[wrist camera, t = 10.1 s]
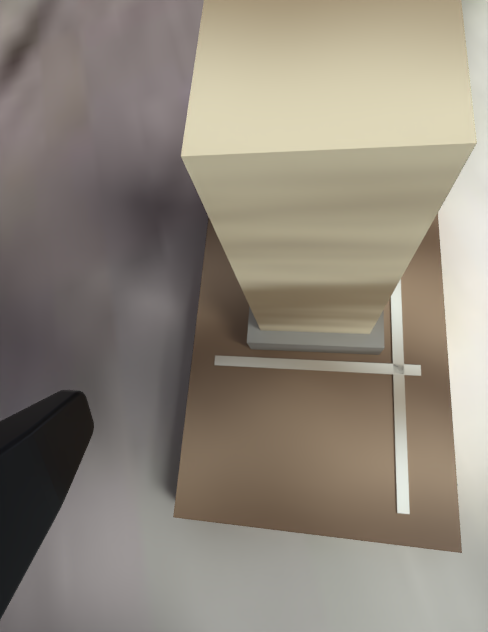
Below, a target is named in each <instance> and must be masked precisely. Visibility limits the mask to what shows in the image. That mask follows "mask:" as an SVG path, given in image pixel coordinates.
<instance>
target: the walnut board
mask: <svg viewBox="0 0 488 632" xmlns="http://www.w3.org/2000/svg"><path fill="white" fill-rule="evenodd" d="M249 307H250V306H249V304H248V302H247V299H246V297H245V295H244V293H243V291H242V288H241V286H240V284H239V282H238V280H237V278H236V275H235V273H234V271H233V269H232V267H231V264H230V262H229V260H228V258H227V256H226V254H225V251H224V249H223V247H222V245H221V243H220V240H219V238H218V236H217V234H216V232H215V230H214V227H213V225H212V223H211V221H210V219H209V218H208V227H207V235H206V244H205V252H204V261H203V269H202V278H201V286H200V295H199V303H198V312H197V320H196V329H195V337H194V346H193V354H192V363H191V371H190V380H189V388H188V397H187V405H186V414H185V423H184V431H183V440H182V448H181V457H180V465H179V474H178V482H177V491H176V499H175V508H174V516H173V517H175V518H183V519H191V520H199V521H207V522H216V523H224V524H232V525H240V526H248V527H256V528H264V529H272V530H280V531H288V532H297V533H305V534H313V535H321V536H329V537H337V538H345V539H353V540H361V541H370V542H378V543H386V544H394V545H402V546H410V547H418V548H426V549H434V550H442V551H451V552H459V553H462V549H461V535H460V521H459V507H458V493H457V478H456V464H455V450H454V436H453V422H452V408H451V394H450V380H449V366H448V351H447V337H446V323H445V309H444V295H443V281H442V267H441V253H440V239H439V224H438V213H437V215H436V217H435V218H434V220H433V222H432V224H431V226H430V227H429V229H428V231H427V233H426V235H425V236H424V238H423V240H422V242H421V243H420V245H419V247H418V249H417V251H416V252H415V254H414V256H413V258H412V259H411V261H410V263H409V265H408V267H407V268H406V270H405V272H404V274H403V276H402V277H401V279H400V281H399V283H398V284H397V286H396V288H395V290H394V292H393V293H392V295H391V297H390V299H389V301H388V302H387V304H386V306H385V308H384V349H383V350H382V352H381V353H380V354H379V355H370V354H347V353H324V352H301V351H278V350H255V349H251V348H250V347H249V345H248V344H247V332H248V320H249Z"/></svg>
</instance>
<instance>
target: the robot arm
mask: <svg viewBox="0 0 488 632" xmlns="http://www.w3.org/2000/svg"><path fill="white" fill-rule="evenodd" d="M93 429H94V423H93V419H92V415H91V412H90V409H89V405H88V402H87V399H86V396H85V394H84V393H83V392H81V391H74V390H62V391H59V392H57V393H55V394H53V395H51V396H49V397H47V398H45V399H43V400H41V401H39V402H37V403H35V404H34V405H32V406H30V407H28V408H26V409H24V410H22V411H20V412H18V413H16V414H14V415H12V416H10V417H8V418H6V419H4V420H2V421H0V619H1V617H2V615H3V614H4V612H5V610H6V608H7V606H8V604H9V603H10V601H11V599H12V597H13V595H14V593H15V592H16V590H17V588H18V586H19V584H20V582H21V580H22V579H23V577H24V575H25V573H26V571H27V569H28V568H29V566H30V564H31V562H32V560H33V558H34V556H35V555H36V553H37V551H38V549H39V547H40V545H41V544H42V542H43V540H44V538H45V536H46V534H47V533H48V531H49V529H50V527H51V525H52V523H53V521H54V520H55V518H56V516H57V514H58V512H59V510H60V508H61V506H62V504H63V502H64V500H65V497H66V495H67V493H68V491H69V488H70V486H71V484H72V481H73V479H74V477H75V474H76V472H77V469H78V467H79V465H80V462H81V460H82V458H83V455H84V453H85V451H86V448H87V446H88V444H89V441H90V439H91V437H92V434H93Z"/></svg>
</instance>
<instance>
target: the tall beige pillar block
mask: <svg viewBox="0 0 488 632" xmlns="http://www.w3.org/2000/svg"><path fill="white" fill-rule="evenodd" d="M476 144H477V141H476V132H475V123H474V114H473V104H472V95H471V86H470V77H469V68H468V59H467V50H466V40H465V31H464V22H463V13H462V4H461V0H204V4H203V11H202V17H201V24H200V31H199V38H198V45H197V51H196V58H195V65H194V72H193V78H192V85H191V92H190V99H189V106H188V112H187V119H186V126H185V133H184V139H183V146H182V153H181V157H182V160H183V162H184V164H185V166H186V168H187V171H188V173H189V175H190V177H191V179H192V181H193V184H194V186H195V188H196V190H197V192H198V195H199V197H200V199H201V201H202V203H203V206H204V208H205V210H206V212H207V214H208V216H209V219H210V221H211V223H212V225H213V227H214V230H215V232H216V234H217V236H218V238H219V240H220V243H221V245H222V247H223V249H224V251H225V254H226V256H227V258H228V260H229V262H230V264H231V267H232V269H233V271H234V273H235V275H236V278H237V280H238V282H239V284H240V286H241V288H242V291H243V293H244V295H245V297H246V299H247V302H248V304H249V306H250V307H249V320H248V332H247V344H248V345H249V347H250V348H251V349H255V350H278V351H301V352H324V353H347V354H370V355H379V354H380V353H381V352H382V350H383V349H384V308H385V306H386V304H387V302H388V301H389V299H390V297H391V295H392V293H393V292H394V290H395V288H396V286H397V284H398V283H399V281H400V279H401V277H402V276H403V274H404V272H405V270H406V268H407V267H408V265H409V263H410V261H411V259H412V258H413V256H414V254H415V252H416V251H417V249H418V247H419V245H420V243H421V242H422V240H423V238H424V236H425V235H426V233H427V231H428V229H429V227H430V226H431V224H432V222H433V220H434V218H435V217H436V215H437V213H438V211H439V210H440V208H441V206H442V204H443V202H444V201H445V199H446V197H447V195H448V193H449V192H450V190H451V188H452V186H453V185H454V183H455V181H456V179H457V177H458V176H459V174H460V172H461V170H462V168H463V167H464V165H465V163H466V161H467V160H468V158H469V156H470V154H471V152H472V151H473V149H474V147H475V145H476Z"/></svg>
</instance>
